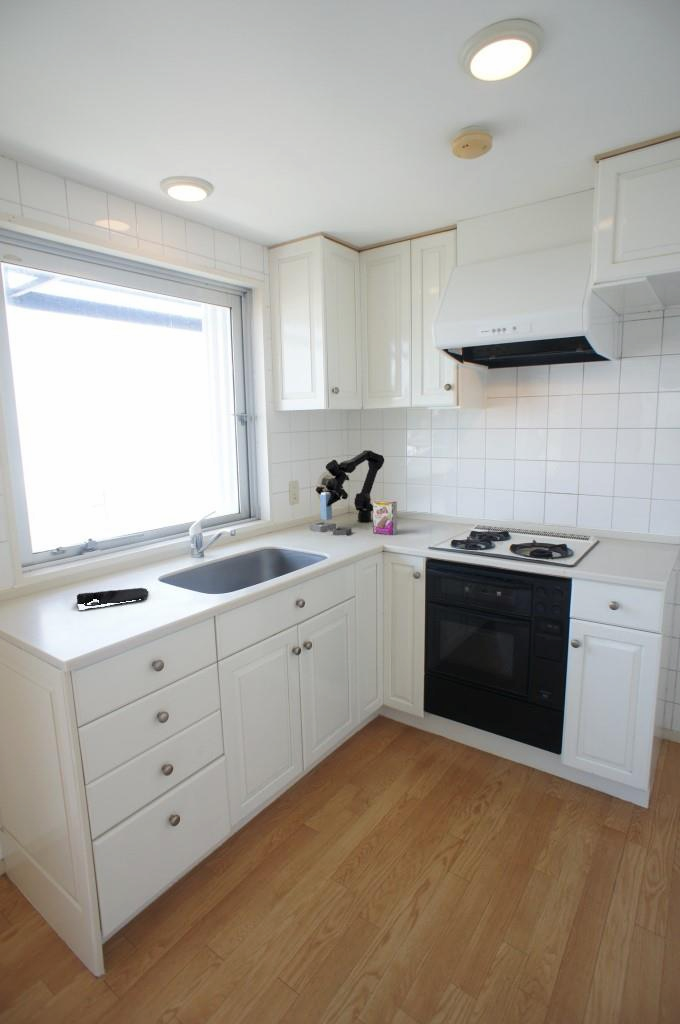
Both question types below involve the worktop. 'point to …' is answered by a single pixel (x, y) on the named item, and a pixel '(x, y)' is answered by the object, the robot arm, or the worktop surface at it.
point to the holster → (341, 531)
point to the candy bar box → (385, 517)
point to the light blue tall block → (325, 506)
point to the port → (322, 526)
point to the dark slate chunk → (112, 596)
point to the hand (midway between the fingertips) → (324, 505)
